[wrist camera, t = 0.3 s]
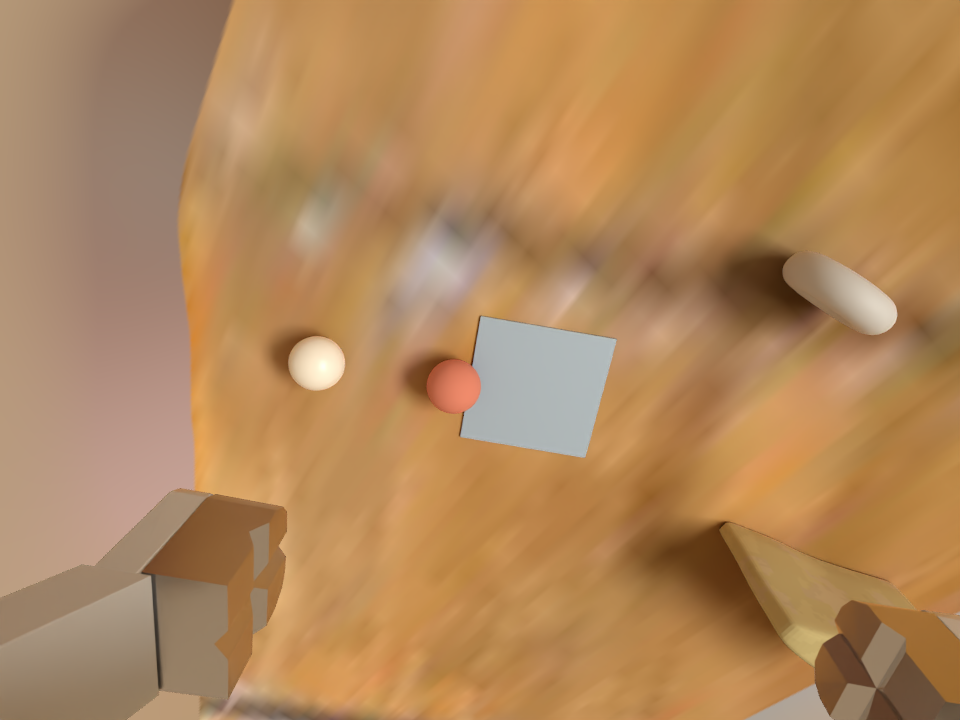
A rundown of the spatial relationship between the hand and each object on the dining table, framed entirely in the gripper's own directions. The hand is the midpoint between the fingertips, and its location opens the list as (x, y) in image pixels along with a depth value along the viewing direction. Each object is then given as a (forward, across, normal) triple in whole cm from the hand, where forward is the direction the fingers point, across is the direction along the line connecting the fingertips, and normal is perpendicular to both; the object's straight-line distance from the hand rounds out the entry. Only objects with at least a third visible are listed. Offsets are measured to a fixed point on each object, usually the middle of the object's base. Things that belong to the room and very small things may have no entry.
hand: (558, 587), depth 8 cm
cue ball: (+44, +17, +17) cm, 50 cm away
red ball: (+44, +3, +17) cm, 47 cm away
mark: (+47, -5, +17) cm, 50 cm away
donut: (+47, -29, +1) cm, 55 cm away
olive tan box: (+48, -40, +34) cm, 70 cm away
